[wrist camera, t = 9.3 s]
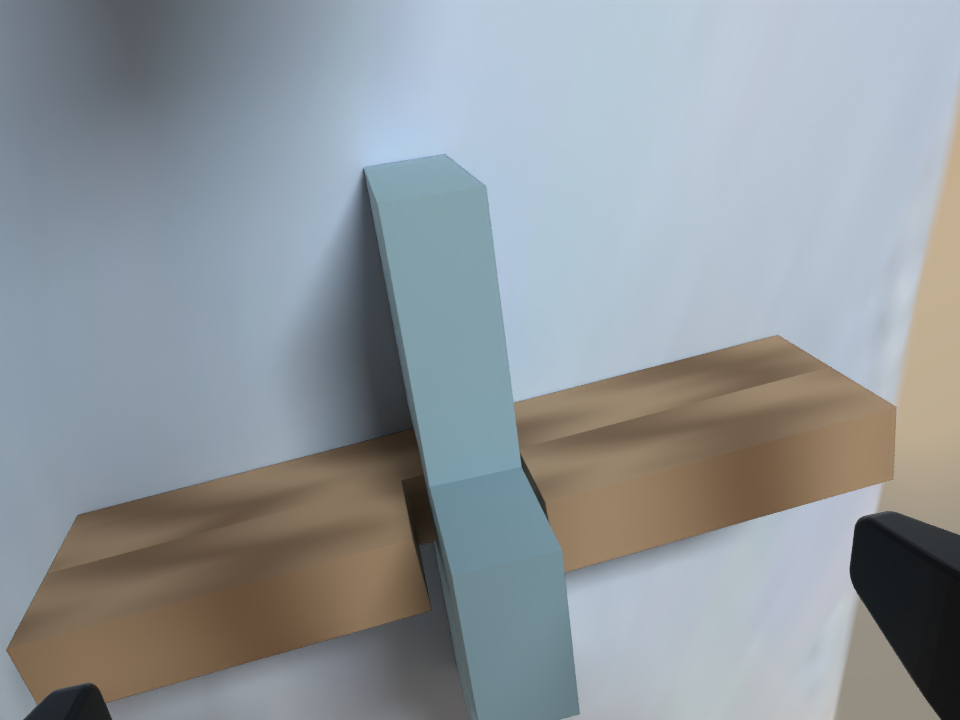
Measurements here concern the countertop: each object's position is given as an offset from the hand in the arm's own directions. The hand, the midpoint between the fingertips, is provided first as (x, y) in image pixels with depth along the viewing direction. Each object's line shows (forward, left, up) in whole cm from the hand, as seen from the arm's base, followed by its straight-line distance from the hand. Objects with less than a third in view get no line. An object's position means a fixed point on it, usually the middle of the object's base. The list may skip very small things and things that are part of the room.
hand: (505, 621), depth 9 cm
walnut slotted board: (+3, +3, -12) cm, 13 cm away
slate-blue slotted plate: (+3, +3, -12) cm, 13 cm away
